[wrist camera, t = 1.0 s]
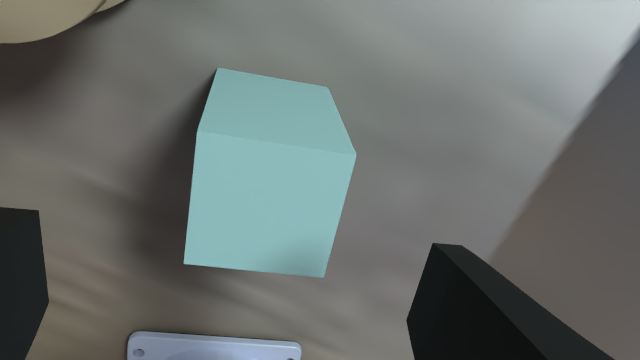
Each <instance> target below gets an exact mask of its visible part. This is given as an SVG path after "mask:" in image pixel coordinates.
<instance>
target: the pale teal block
mask: <svg viewBox="0 0 640 360" xmlns="http://www.w3.org/2000/svg"><path fill="white" fill-rule="evenodd" d="M356 156H357V155H356V153H355V150H354V148H353V146H352V143H351V141H350V138H349V136H348V134H347V131H346V129H345V127H344V124H343V122H342V120H341V117H340V115H339V113H338V110H337V108H336V106H335V103H334V101H333V99H332V96H331V94H330V91H329V89H328V87H323V86H317V85H311V84H306V83H300V82H295V81H289V80H284V79H278V78H272V77H267V76H261V75H256V74H250V73H244V72H239V71H233V70H228V69H222V68H217V71H216V75H215V78H214V81H213V84H212V87H211V90H210V93H209V96H208V99H207V102H206V105H205V109H204V112H203V115H202V118H201V121H200V124H199V127H198V130H197V138H196V148H195V158H194V167H193V177H192V187H191V197H190V206H189V216H188V226H187V236H186V245H185V255H184V264H190V265H200V266H210V267H220V268H230V269H240V270H250V271H261V272H271V273H281V274H291V275H301V276H311V277H322V278H324V274H325V271H326V267H327V263H328V260H329V256H330V252H331V249H332V245H333V241H334V237H335V234H336V230H337V226H338V223H339V219H340V215H341V212H342V208H343V204H344V200H345V197H346V193H347V189H348V186H349V182H350V178H351V175H352V171H353V167H354V163H355V160H356Z"/></svg>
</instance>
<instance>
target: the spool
mask: <svg viewBox="0 0 640 360" xmlns="http://www.w3.org/2000/svg"><path fill="white" fill-rule="evenodd" d="M123 1H125V0H0V43H22V42H30V41H37V40H40V39H44V38H47V37H51V36H54V35H56V34H58V33H60V32H62V31H64V30H67V29H69V28H71V27H73V26H75V25H77V24H79V23H80V22H82V21H84V20H85V19H87V18H88V17H90V16H91V15H93V14H94V13H96V12H99V11H103V10H106V9H108V8H110V7H113V6H115V5H117V4H119V3H121V2H123Z"/></svg>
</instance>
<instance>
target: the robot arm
mask: <svg viewBox="0 0 640 360" xmlns="http://www.w3.org/2000/svg"><path fill="white" fill-rule="evenodd" d="M48 303H49V298H48V290H47V281H46V272H45V263H44V254H43V246H42V237H41V228H40V219H39V210H27V209H15V208H3V207H0V360H25V358H26V356H27V354H28V352H29V349H30V347H31V345H32V342H33V340H34V338H35V335H36V333H37V331H38V328H39V326H40V323H41V321H42V318H43V316H44V313H45V311H46V308H47V306H48ZM406 321H407V326H408V331H409V335H410V340H411V345H412V350H413V354H414V358H415V360H614V359H613V358H612V357H610V356H609V355H607V354H606V353H604V352H603V351H602V350H600V349H599V348H597V347H596V346H595V345H593V344H592V343H590V342H589V341H588V340H586V339H585V338H583V337H582V336H581V335H579V334H578V333H576V332H575V331H574V330H573V329H571V328H570V327H568V326H567V325H566V324H564V323H563V322H562V321H560V320H559V319H558V318H557V317H555V316H554V315H552V314H551V313H550V312H549V311H547V310H546V309H545V308H543V307H542V306H541V305H539V304H538V303H537V302H536V301H534V300H533V299H532V298H531V297H529V296H528V295H527V294H525V293H524V292H523V291H521V290H520V289H519V288H518V287H517V286H515V285H514V284H513V283H511V282H510V281H509V280H508V279H506V278H505V277H504V276H503V275H501V274H500V273H499V272H497V271H496V270H495V269H494V268H492V267H491V266H490V265H488V264H487V263H486V262H484V261H483V260H482V259H480V258H479V257H478V256H476V255H475V254H474V253H472V252H471V251H469V250H468V249H466V248H465V247H463V246H461V245H450V244H438V243H433V244H432V247H431V250H430V253H429V256H428V258H427V261H426V264H425V267H424V270H423V273H422V276H421V279H420V282H419V285H418V288H417V291H416V294H415V297H414V300H413V303H412V306H411V309H410V311H409V314H408V317H407V320H406ZM137 349H142V350H137ZM289 358H291V359H289ZM300 358H301V346H300V345H299V344H298V343H296V342H289V341H275V340H261V339H246V338H232V337H218V336H203V335H189V334H175V333H160V332H146V331H137V332H134V333H132V334H131V335H130V338H129V341H128V348H127V360H288V359H289V360H300Z"/></svg>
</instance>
